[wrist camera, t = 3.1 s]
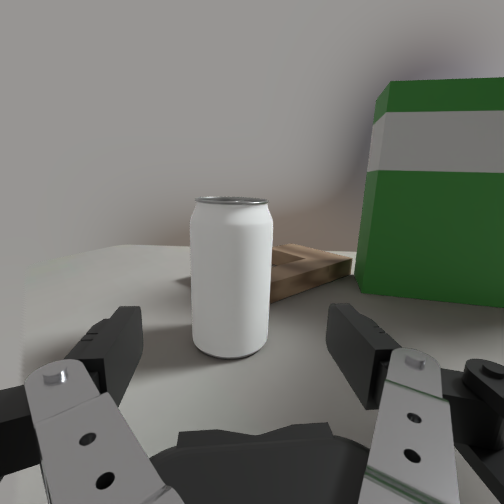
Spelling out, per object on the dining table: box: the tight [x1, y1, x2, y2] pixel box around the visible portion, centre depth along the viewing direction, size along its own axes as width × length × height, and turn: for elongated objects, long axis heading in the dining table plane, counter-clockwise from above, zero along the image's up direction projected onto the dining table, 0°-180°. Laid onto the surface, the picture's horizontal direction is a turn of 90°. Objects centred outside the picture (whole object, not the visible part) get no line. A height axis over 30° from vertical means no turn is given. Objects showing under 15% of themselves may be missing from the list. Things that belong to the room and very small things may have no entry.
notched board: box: [269, 243, 352, 304], centre depth 40 cm, size 20×12×2 cm, turn 131°
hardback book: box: [354, 77, 504, 308], centre depth 35 cm, size 18×7×24 cm, turn 78°
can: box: [190, 197, 273, 359], centre depth 23 cm, size 6×6×12 cm
